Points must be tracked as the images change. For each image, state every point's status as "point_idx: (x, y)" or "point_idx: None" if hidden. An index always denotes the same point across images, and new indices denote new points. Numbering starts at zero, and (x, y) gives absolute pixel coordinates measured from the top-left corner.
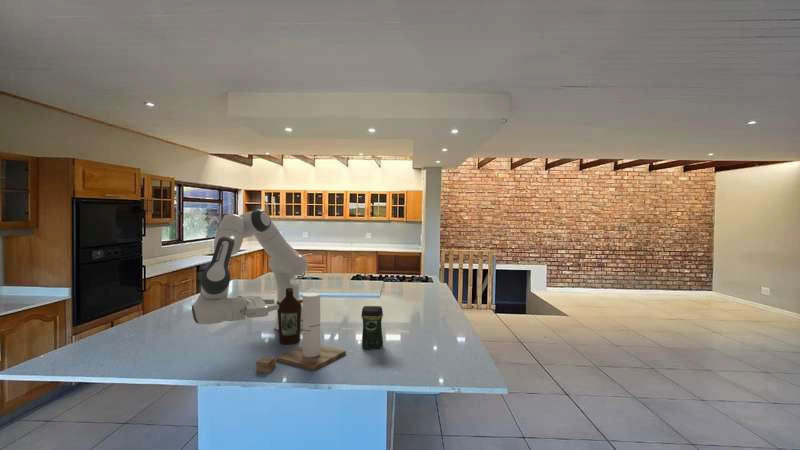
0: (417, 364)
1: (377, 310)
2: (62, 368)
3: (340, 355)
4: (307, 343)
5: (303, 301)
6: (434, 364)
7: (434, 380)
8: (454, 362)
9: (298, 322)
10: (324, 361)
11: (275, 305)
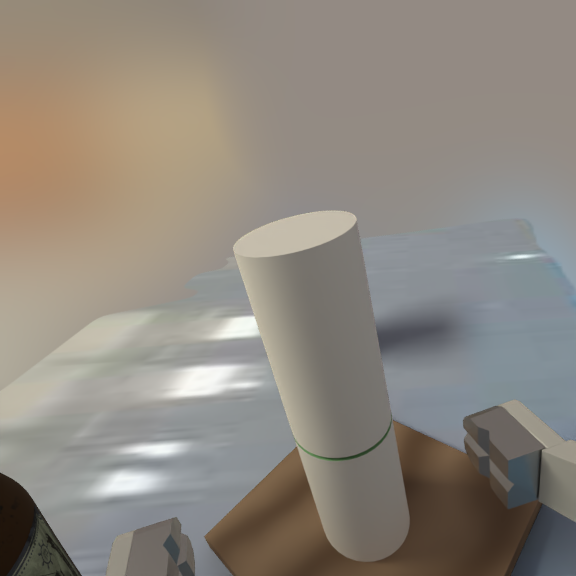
0: (436, 284)
1: None
2: None
3: None
4: (399, 483)
5: (332, 287)
6: (434, 267)
7: (525, 262)
8: (422, 252)
9: (65, 551)
10: (463, 453)
11: (550, 428)
